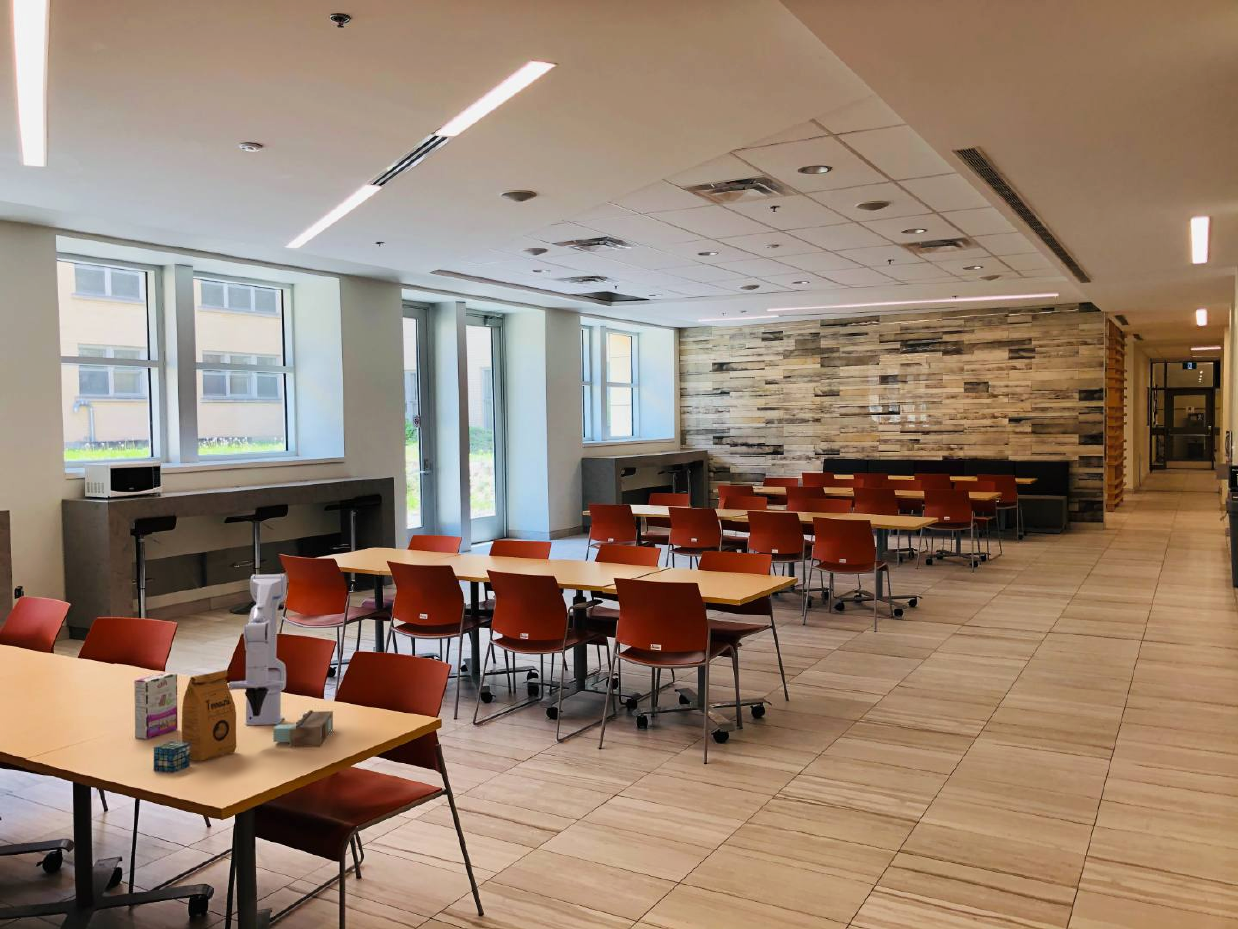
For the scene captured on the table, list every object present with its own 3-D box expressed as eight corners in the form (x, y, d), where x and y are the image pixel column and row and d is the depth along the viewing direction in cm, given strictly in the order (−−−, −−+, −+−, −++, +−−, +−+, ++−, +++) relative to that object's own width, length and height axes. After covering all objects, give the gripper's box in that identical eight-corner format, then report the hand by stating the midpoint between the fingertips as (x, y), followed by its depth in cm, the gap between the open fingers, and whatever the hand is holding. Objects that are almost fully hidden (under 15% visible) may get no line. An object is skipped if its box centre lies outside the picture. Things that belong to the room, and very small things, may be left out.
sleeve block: (289, 747, 261) (290, 726, 261) (304, 730, 278) (304, 710, 278) (320, 746, 262) (320, 725, 262) (332, 730, 279) (332, 710, 279)
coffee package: (241, 753, 255) (242, 670, 255) (198, 765, 245) (199, 679, 245) (219, 747, 261) (220, 666, 261) (176, 759, 250) (177, 674, 251)
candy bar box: (164, 728, 280) (165, 671, 280) (178, 730, 278) (178, 673, 278) (133, 738, 269) (133, 679, 269) (146, 740, 268) (147, 681, 268)
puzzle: (170, 764, 246) (171, 741, 246) (190, 766, 244) (190, 743, 244) (153, 771, 240) (153, 747, 240) (172, 773, 239) (173, 749, 239)
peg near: (273, 742, 263) (273, 728, 263) (277, 737, 267) (277, 725, 267) (303, 741, 264) (303, 728, 264) (306, 737, 268) (306, 724, 268)
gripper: (225, 669, 260) (224, 719, 260) (280, 668, 261) (280, 718, 261) (233, 664, 267) (232, 713, 267) (286, 663, 268) (286, 712, 268)
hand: (256, 715), depth 265 cm, fingers closed
